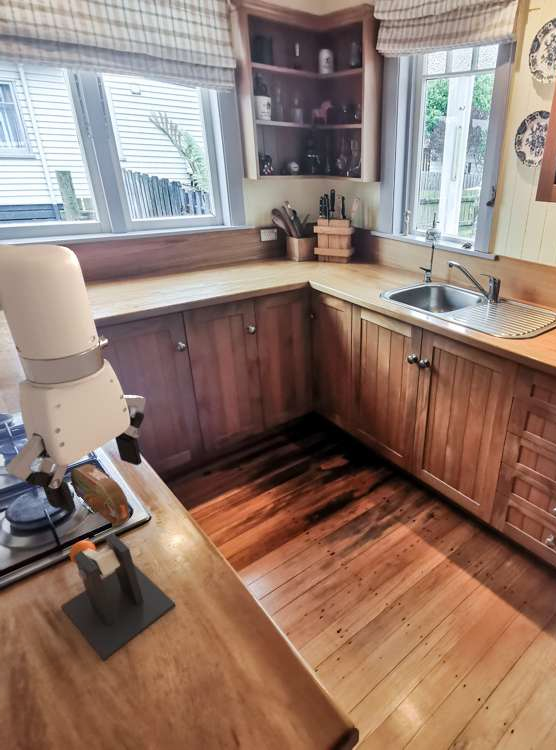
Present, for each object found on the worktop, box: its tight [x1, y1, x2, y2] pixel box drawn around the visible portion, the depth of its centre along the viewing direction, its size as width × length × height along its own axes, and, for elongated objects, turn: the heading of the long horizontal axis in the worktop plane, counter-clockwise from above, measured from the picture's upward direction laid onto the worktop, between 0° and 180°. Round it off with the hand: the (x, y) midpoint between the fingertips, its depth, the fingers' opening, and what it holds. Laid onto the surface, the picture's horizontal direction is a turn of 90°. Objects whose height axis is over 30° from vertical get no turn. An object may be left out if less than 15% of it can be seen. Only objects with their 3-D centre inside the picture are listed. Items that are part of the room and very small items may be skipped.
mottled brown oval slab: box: [70, 463, 131, 529], centre depth 81 cm, size 15×3×8 cm, turn 55°
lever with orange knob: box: [69, 539, 120, 577], centre depth 65 cm, size 12×3×3 cm, turn 53°
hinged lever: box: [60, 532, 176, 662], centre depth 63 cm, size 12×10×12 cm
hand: (100, 483), depth 59 cm, fingers open, 9 cm apart
